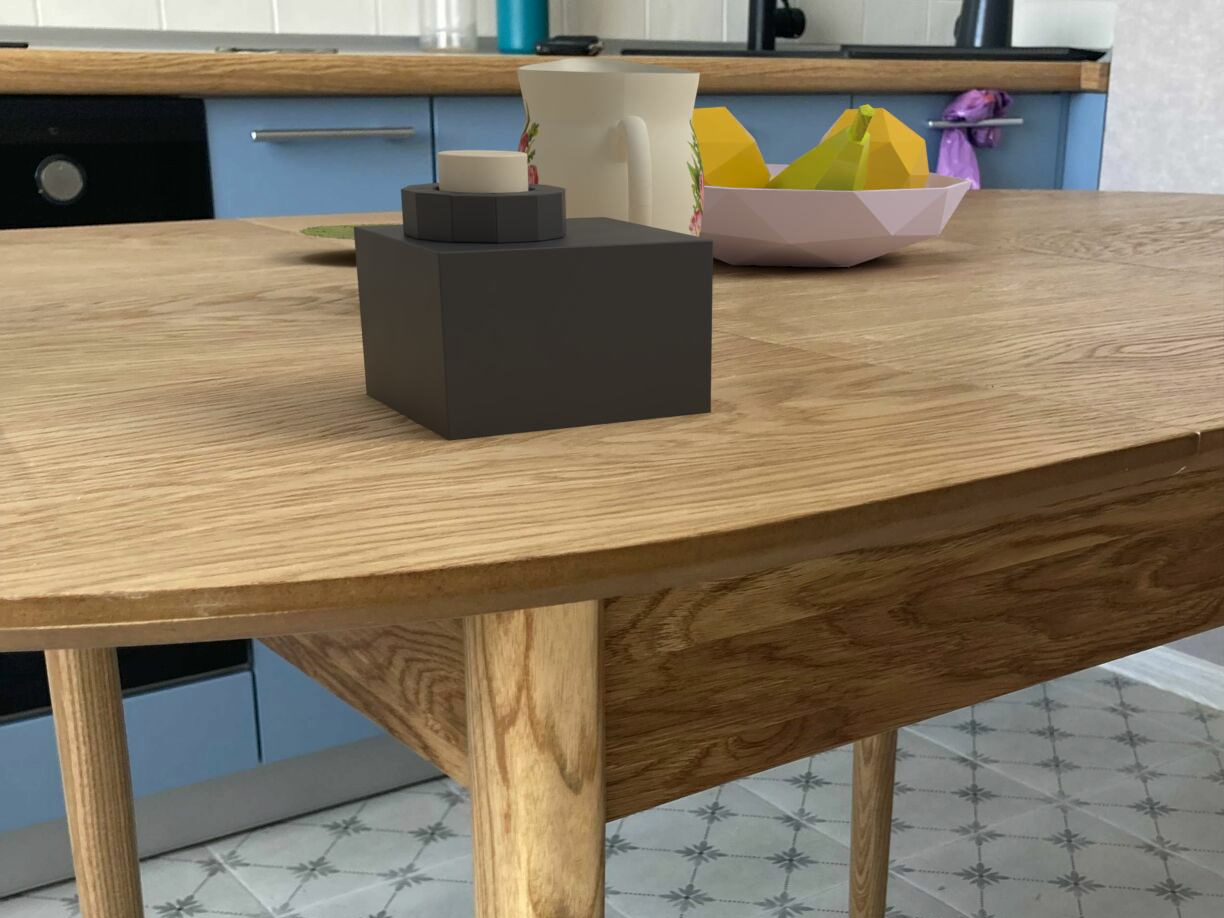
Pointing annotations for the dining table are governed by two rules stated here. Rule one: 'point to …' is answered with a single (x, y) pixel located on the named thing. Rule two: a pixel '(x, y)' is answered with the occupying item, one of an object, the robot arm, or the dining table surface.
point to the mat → (335, 231)
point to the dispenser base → (531, 315)
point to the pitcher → (615, 140)
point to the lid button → (482, 171)
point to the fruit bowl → (820, 193)
